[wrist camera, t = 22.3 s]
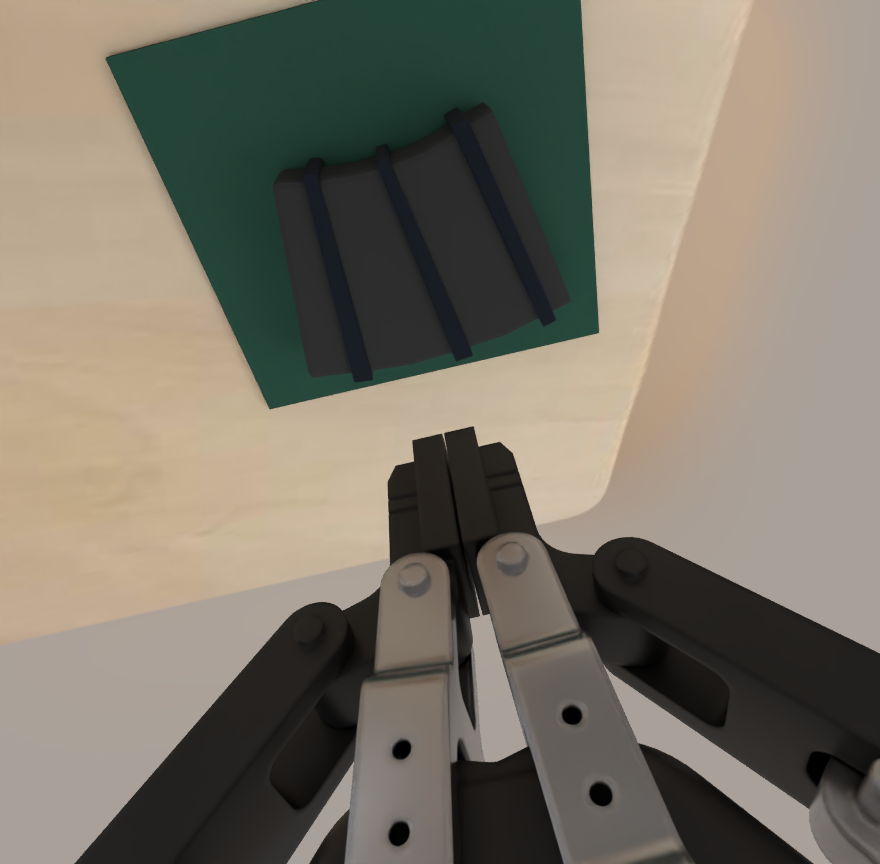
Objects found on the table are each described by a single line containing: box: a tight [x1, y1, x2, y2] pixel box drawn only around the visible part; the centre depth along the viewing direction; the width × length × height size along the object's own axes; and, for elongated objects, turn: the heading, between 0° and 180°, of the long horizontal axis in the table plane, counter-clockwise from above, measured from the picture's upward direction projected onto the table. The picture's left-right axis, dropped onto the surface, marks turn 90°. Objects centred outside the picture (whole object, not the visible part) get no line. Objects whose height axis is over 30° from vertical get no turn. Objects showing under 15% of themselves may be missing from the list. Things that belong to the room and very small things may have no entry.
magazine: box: [273, 103, 571, 383], centre depth 32 cm, size 4×13×15 cm
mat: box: [106, 0, 599, 409], centre depth 32 cm, size 20×22×1 cm
